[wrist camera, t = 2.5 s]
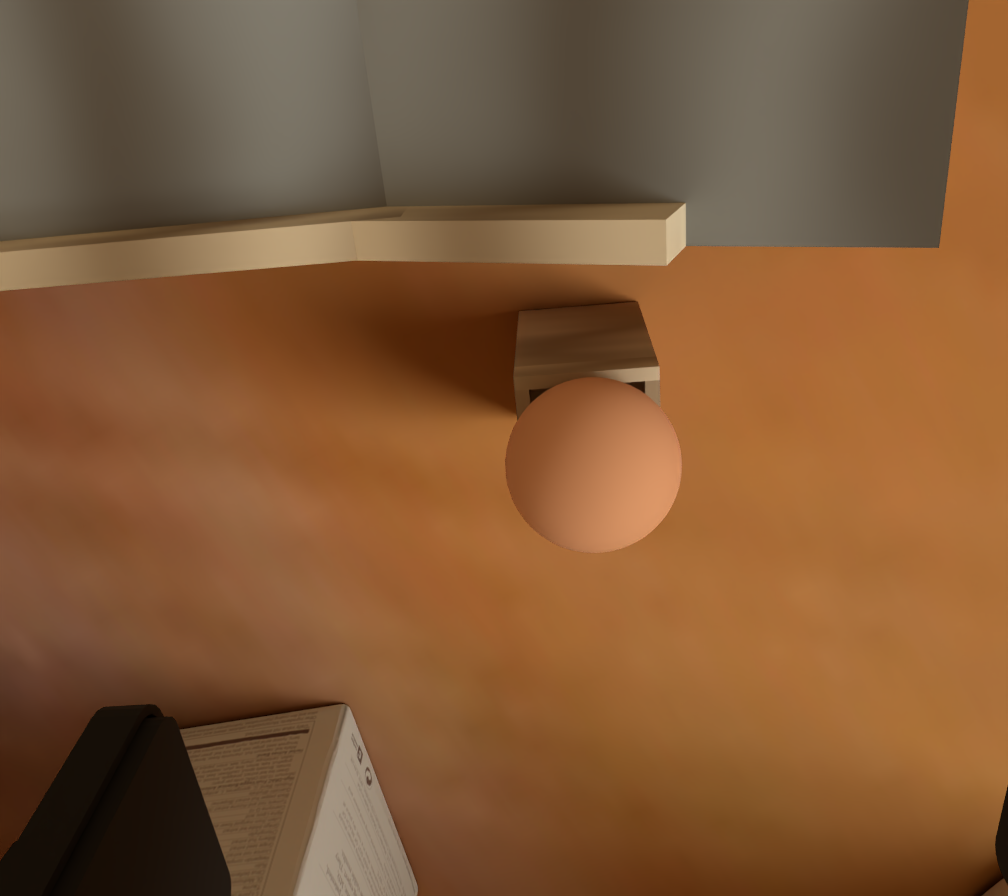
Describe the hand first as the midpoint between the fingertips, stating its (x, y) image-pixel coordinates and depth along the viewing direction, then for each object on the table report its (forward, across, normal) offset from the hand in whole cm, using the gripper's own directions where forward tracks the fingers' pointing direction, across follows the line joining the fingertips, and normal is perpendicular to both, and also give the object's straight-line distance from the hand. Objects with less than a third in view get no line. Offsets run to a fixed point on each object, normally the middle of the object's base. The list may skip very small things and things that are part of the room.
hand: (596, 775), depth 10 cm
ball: (+8, 0, +1) cm, 9 cm away
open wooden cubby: (+14, -1, +1) cm, 14 cm away
